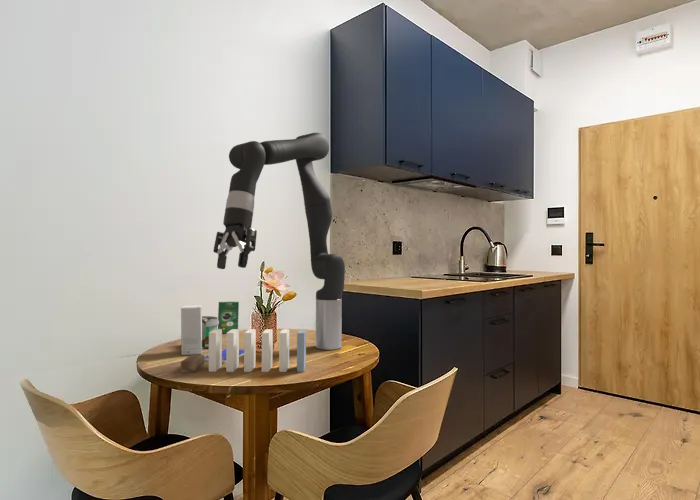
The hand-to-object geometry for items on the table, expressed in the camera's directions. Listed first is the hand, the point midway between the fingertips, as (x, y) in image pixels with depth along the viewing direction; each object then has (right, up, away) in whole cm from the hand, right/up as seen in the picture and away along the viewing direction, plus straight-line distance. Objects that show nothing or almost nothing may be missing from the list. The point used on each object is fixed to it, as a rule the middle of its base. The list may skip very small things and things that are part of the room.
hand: (231, 268), depth 116 cm
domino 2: (-2, -30, +10) cm, 31 cm away
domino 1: (-7, -30, +10) cm, 32 cm away
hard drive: (-8, -30, +24) cm, 40 cm away
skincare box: (-21, -30, +30) cm, 47 cm away
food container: (-19, -30, +40) cm, 54 cm away
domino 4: (+8, -30, +10) cm, 32 cm away
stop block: (-14, -30, +10) cm, 34 cm away
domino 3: (+3, -30, +10) cm, 31 cm away
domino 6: (+18, -30, +10) cm, 36 cm away
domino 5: (+13, -30, +10) cm, 34 cm away
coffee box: (-19, -30, +64) cm, 73 cm away
